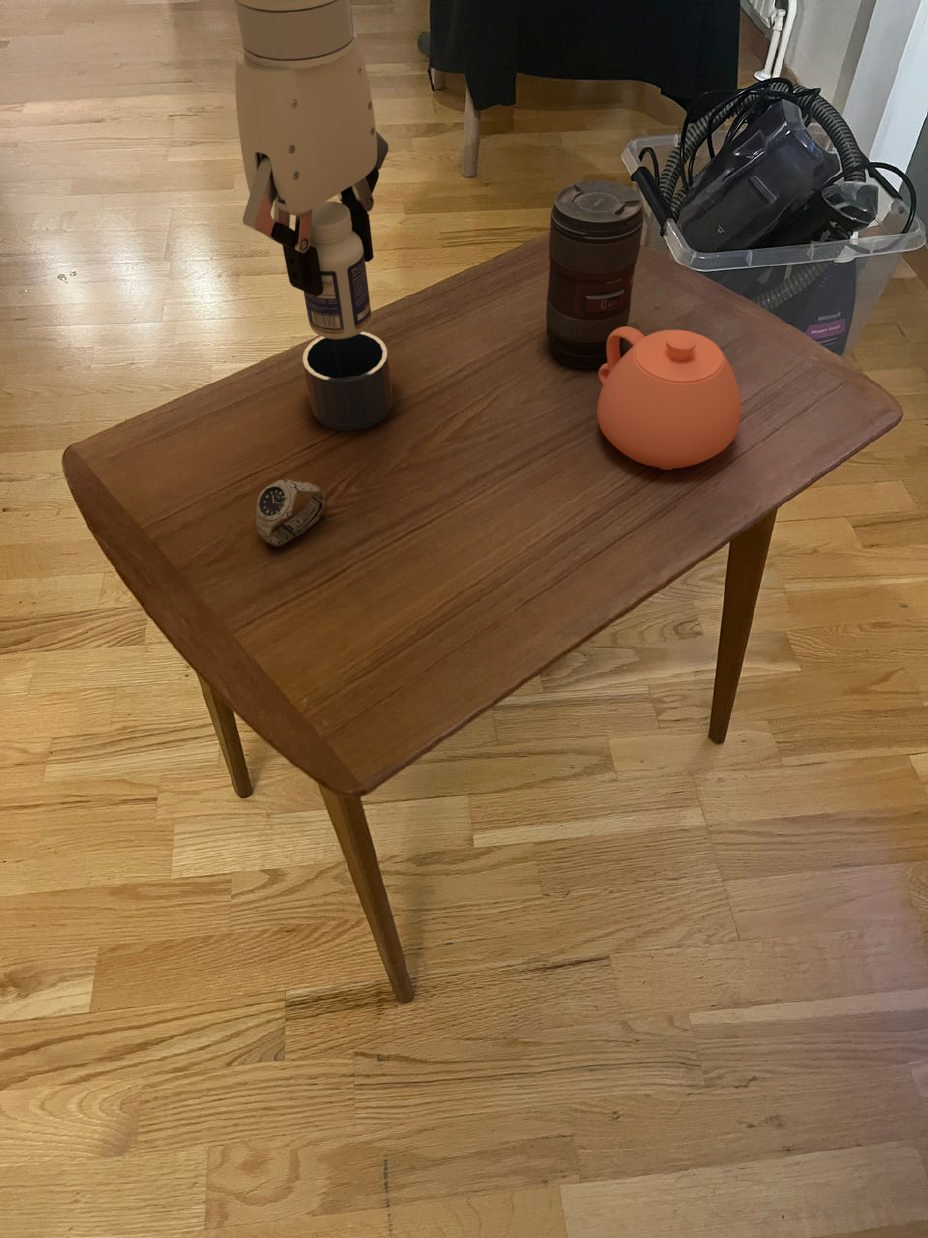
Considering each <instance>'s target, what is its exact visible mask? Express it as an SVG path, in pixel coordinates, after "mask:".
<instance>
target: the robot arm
mask: <svg viewBox="0 0 928 1238" xmlns="http://www.w3.org/2000/svg"><path fill="white" fill-rule="evenodd" d="M352 1H353V0H233V3H234V9H235V14H236V18H237V23H238V28H239V34H240V39H241V45H242V50H243V53H241V54H240V55H238V56H236V57H235V69H234V70H235V72H234V77H235V79H234V80H235V81H234V83H235V85H234V86H235V103H236V106H235V107H236V117H237V128H238V135H239V143H240V151H241V156H242V157H241V158H242V163H243V168H244V174H245V180H246V183H247V189H248V192H249V197H248V200H247V203H246V207H245V210H244V213H243V216H242V223H243V225H244V226H245V227H247V228H249V229H251V230H253V231H255V232H257V233H260V234H262V235H264V236H266V237H267V238H269V239H271V240H272V241H274V242H275V243H278V245H281V246H282V250H283V256H284V261H285V267H286V271H287V277H288V281H289V284H290V285H291V286H292V287H293V288H295V289H298V290H300V291H302V292H303V291H304V292H306V293H309V294H311V295H313V296H315V297H318V296H319V295H321V294H322V293H323V284H322V278H321V271H320V265H319V259H318V252H317V249H316V248H315V247H313V246H310V236H311V221H312V209H314V208H316V207H317V206H319V205H320V204H322V203H324V202H325V201H330V199H332V198H334V197H335V196H337V198H338V200H339V202H340V203H342V204H344V205H345V206H347V207H348V209H349V211H350V216H351V222H352V231H353V232H355V233H356V234H357V235H358V236H359V237H360V239H361V241H362V244H363V250H364V257H365V263H369V262H371V261H372V260H373V259H374V247H373V239H372V230H371V229H372V228H371V219H370V213H369V212H371V211H372V210H373V208H374V206H375V200H374V196H373V193H374V191H375V188H376V186H377V183H378V181H379V177H380V171H379V170H381V168H382V167H383V163H384V162H385V160H386V157H387V155H388V152H389V144H388V143H389V142H387V141H386V140H385V138H383V136H382V135H381V134H380V133H379V132H378V131H377V127H376V119H375V111H374V104H373V98H372V93H371V86H370V80H369V76H368V72H367V67H366V63H365V59H364V55H363V51H362V47H361V44H360V41H359V37H358V33H356V32H355V30H354V23H353V13H352V4H351V2H352ZM272 209H273V217H272ZM291 216H294V217H295V219H294V229H293V228H291V227H290V225H291ZM304 292H303V293H304Z"/></svg>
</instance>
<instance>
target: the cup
mask: <svg viewBox="0 0 928 1238" xmlns="http://www.w3.org/2000/svg"><path fill="white" fill-rule="evenodd" d="M301 362H302V368H303V373H304V378H305V385H306V388H307V393H308V400H309V404H310V409H311V413H312V415H313V417H314V418H315V419H316V420H317V421H318V422H319V423H320V424H321V425H322V426H325V427H327V428H329V429H332V430H337V431H343V432H351V431H359V430H365V429H368V428H371V427H373V426H375V425H377V424H379V423H380V422H382V421H383V420H384V419H385V418H386V417H387V416H388V415H389V414H390V412H391V410H392V407H393V405H394V404H393V403H394V401H393V387H392V378H391V367H390V357H389V349H388V347H387V346H386V343H385V342H384V341H383V340H382V339H380V338H379V337H378V336H377V335H375V334H372V333H370V332H367V331H363V332H361V333H360V334H358V335H355V336H353V337H349V338H345V339H329V338H325V337H322V336H319V337H317V338H315V339H314V340H313V341H311V342H310V343H309V344H307V346H306V348H304V350H303V353H302V357H301Z"/></svg>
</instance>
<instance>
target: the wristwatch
mask: <svg viewBox="0 0 928 1238" xmlns="http://www.w3.org/2000/svg"><path fill="white" fill-rule="evenodd" d="M299 494H311V497H310V500H309V502H308V504H307V505H306V506H305V507H303V508H302V509H301V510H300V511H299V512H298V513H297V514H296V515H294V516H293V515H292V514H293V513H292V512H293V511H294V505H295V502H296V498H297V497H298V496H299ZM325 505H326V496H325V494H324V493H323V492H322V490H321V489H320V487H319V486H317V485H316V484H313V483H311V482H307V481H305V482H301V481H293V480H291V479H289V478H284V479H280V480H276V481H275V482H273V483H271V484H269V485H267V486H266V487H265V488H263V490H262V491H261V492H260V494H259V495H258V498H257V502H256V508H255V514H256V520H255V521H256V531H257V533H258V534H259V536H260V537H261V539H262V540H263V541H264V542H266V543H267V544H270V545H271V546H273V547H278V548H279V547H283V546H284V545H286V544H287V543H288V542H290V541H292V540H294V539H295V538H297V537H299V536H300V535H303V534H304V533H306V532H307V531H308V529H310V528H311V527H312V526H313V525H314V524H315V523H317V522H318V521H319V520H320V516H321V514H322V512H323V510H324V507H325ZM292 516H293V517H292ZM290 517H292V518H291V519H288V518H290ZM286 519H288V521H285V520H286ZM281 522H282V526H281V527H280V528H279V529H278V530H277V531H274V532H273V530H274V529H275V527H277V526H278V525H279V524H280V523H281Z"/></svg>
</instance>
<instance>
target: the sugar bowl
mask: <svg viewBox="0 0 928 1238" xmlns="http://www.w3.org/2000/svg"><path fill="white" fill-rule="evenodd" d="M620 337H621V338H624V339H623V340H626V341H627V342H629V343H630V344H631V345H632V347H630V349H629V350H628V351H627V352H626V353H625V354H623V355H622V357H621V350H620V345H619V341H620ZM606 350H607V361H608V363H606V364H603V365H602V366H600V368H599V370H598V373H597V375H598V380H599V381H600V383H601V384H602V388H601V389H600V393H599V396H598V400H597V405H596V419H597V422H598V425H599V428H600V430H601V433H602V434H603V436H605V438H606V439H607V440H608V441H609V442H610V444H612V445H613V447H615V448H616V449H617V450H618V451H619V452H621V453H622V454H624V456H626V457H628V458H629V459H631V460H633V461H635V462H638V463H640V464H642V465H646V466H649V467H653V468H659V469H661V470H663V471H664V470H665V471H669V470H673V469H680V468H681V469H682V468H686V467H691V466H695V465H697V464H701V463H703V462H706V461H707V460H709V459H712V458H714V457H715V456H716V455H718V454H720V453H721V452H723V451H724V450H725V449H726V448H727V447H728V446H729V445H730V444H731V443H732V442H733V440H734V439H735V437H736V436H737V433H738V431H739V426H740V423H741V414H742V411H741V410H742V405H741V394H740V389H739V385H738V381H737V379H736V376H735V374H734V372H733V370H732V367H731V365H730V363H729V361H728V359H727V357H726V356H725V353H723V351H722V349H721V348H720V347H719V346H718V345H717V343H715V342H714V341H712V340H711V339H709V338H708V337H706V336H704V335H702V334H699V333H696V332H693V331H691V330H685V329H684V330H683V329H665V330H660V331H656V332H652V333H650V334H648V335H646V336H645V335H644V334H643V333H642V332H641V331H640V330H638V329H637V328H635V327H632V326H628V325H627V326H624V327H620V328H617V329H615V330H614V331H613V332H612V333H611V334H610V335H609V337H608V340H607V347H606Z"/></svg>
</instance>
